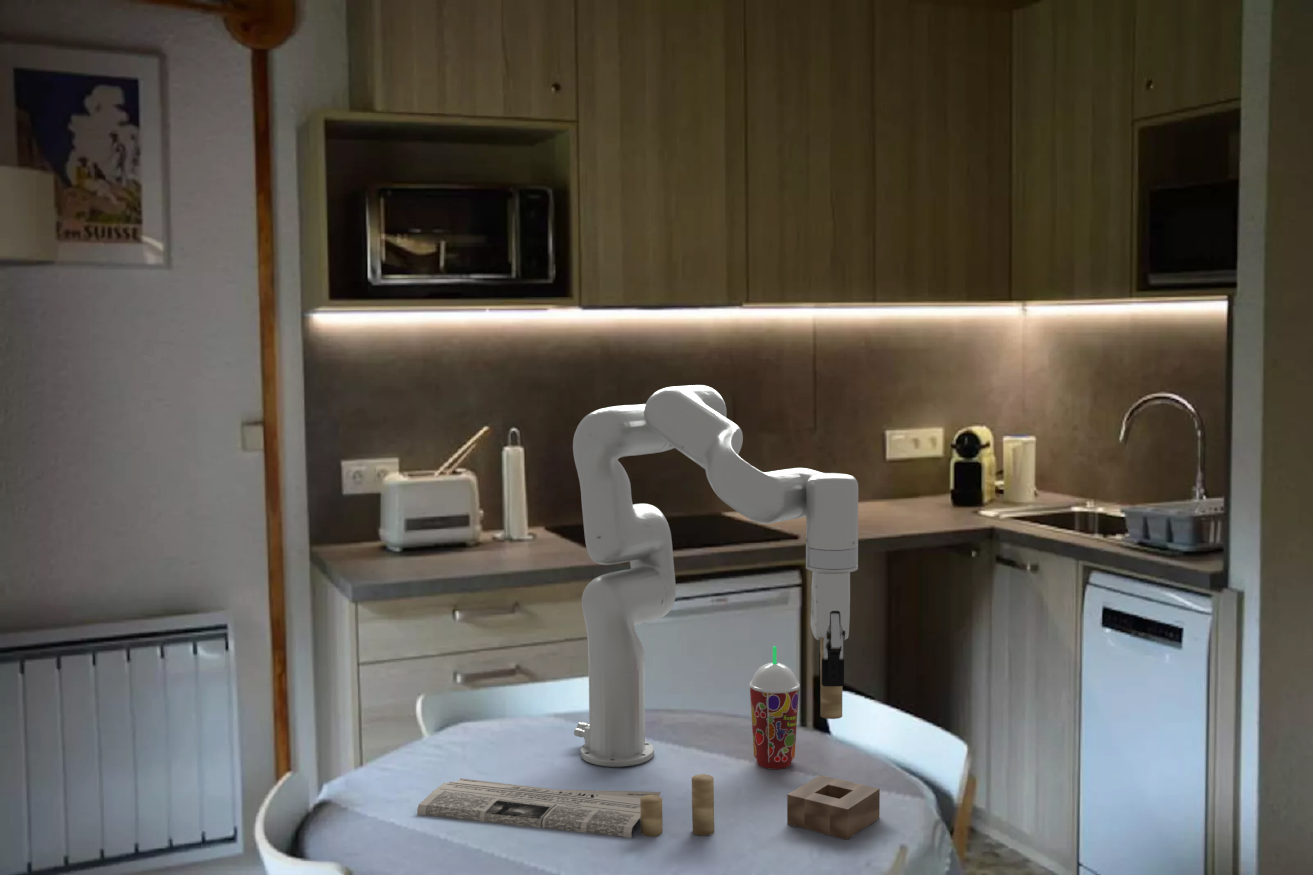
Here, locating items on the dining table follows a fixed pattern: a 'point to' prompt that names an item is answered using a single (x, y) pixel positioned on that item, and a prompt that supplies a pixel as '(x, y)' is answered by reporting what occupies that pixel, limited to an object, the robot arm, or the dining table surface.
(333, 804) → the dining table surface
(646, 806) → the short dowel
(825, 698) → the long dowel
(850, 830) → the collar
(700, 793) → the medium dowel
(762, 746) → the smoothie
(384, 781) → the dining table surface
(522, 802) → the newspaper
